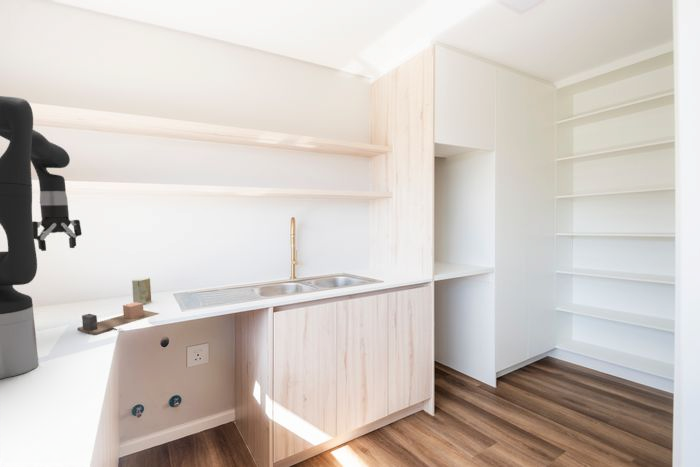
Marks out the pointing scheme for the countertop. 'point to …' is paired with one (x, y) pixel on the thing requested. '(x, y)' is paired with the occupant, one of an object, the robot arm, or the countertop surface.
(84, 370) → the countertop surface
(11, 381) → the countertop surface
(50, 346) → the countertop surface
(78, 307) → the countertop surface
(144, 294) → the skincare box
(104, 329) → the walnut strip
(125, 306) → the terracotta block
